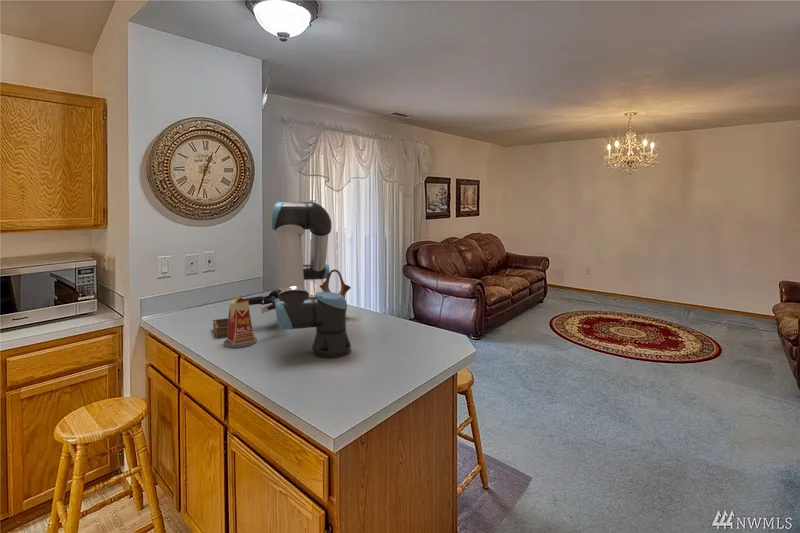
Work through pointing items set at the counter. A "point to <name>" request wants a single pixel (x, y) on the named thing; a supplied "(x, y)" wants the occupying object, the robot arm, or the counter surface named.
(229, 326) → the milk carton
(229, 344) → the slate coaster
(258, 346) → the counter surface
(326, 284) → the brown handbag
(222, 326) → the walnut cradle
